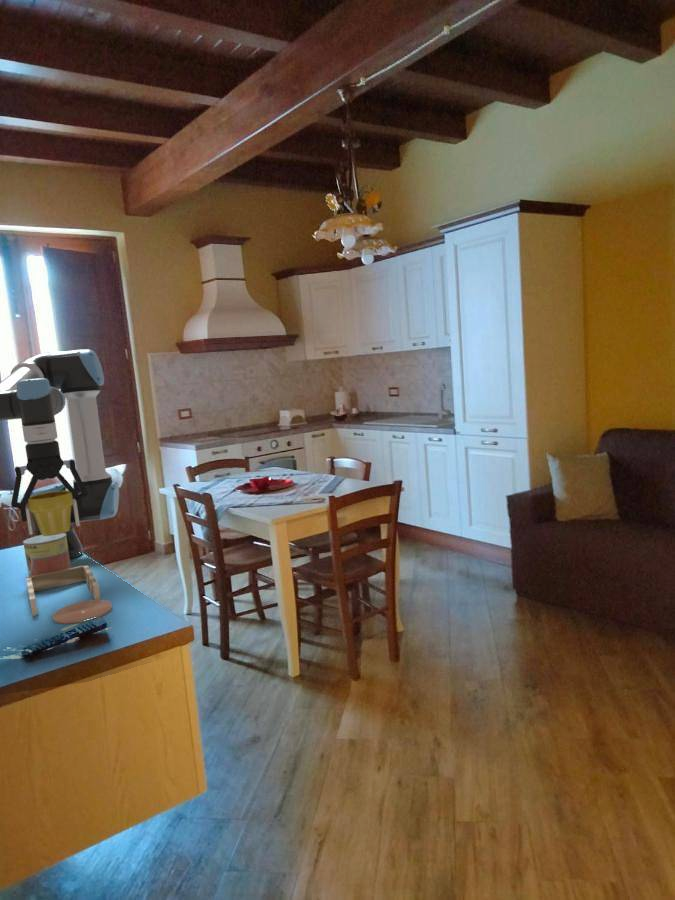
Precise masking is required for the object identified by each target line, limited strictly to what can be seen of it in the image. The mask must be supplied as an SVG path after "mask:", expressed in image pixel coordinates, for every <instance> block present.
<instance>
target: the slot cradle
mask: <svg viewBox="0 0 675 900" xmlns="http://www.w3.org/2000/svg"><path fill="white" fill-rule="evenodd" d="M25 578H26V579H25V580H26V586H27V592H28V597H29V603H30V608H31V609H30V610H31V615H32V617H33V616H38V614H39V613H38V607H37V601H36V594H35V592H40V591H44V590H47V589H54V588H56V587H62V586H67V585H72V584H76V583H81V582H84V581H85V583H86V584H87V586H88V588H89V591H90V592H91V595H92V596H93V598H94V599H93V600H102V598H101V594H100V593H101V591H100V585H99V582H98V581H97V579H96V578H95V576H94V574H93V572H92V571H91V568H90V567H89V564H84V565H83V564H82V565H79V566H75V567H71V568H69V569H64V570H59V571H54V572H50V573H45V574H40V575H35V576H31V577H29V576H26V577H25Z"/></svg>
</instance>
